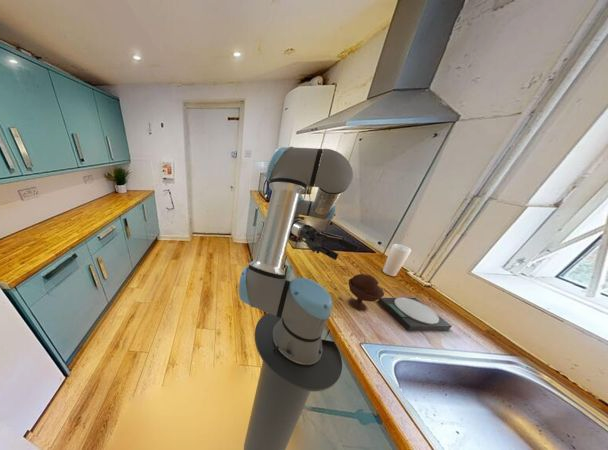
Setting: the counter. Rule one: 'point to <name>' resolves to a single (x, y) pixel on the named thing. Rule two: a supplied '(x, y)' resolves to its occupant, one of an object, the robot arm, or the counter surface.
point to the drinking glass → (396, 259)
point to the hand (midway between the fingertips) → (347, 253)
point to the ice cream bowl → (364, 290)
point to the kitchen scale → (413, 314)
